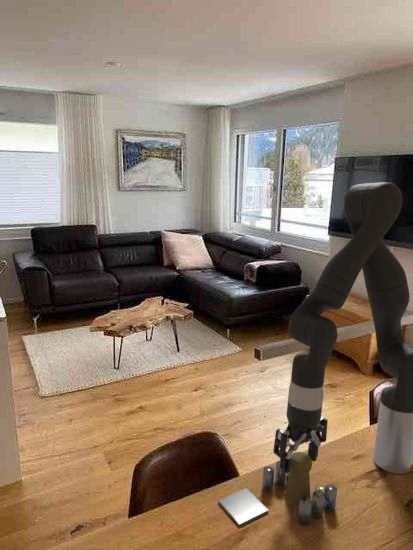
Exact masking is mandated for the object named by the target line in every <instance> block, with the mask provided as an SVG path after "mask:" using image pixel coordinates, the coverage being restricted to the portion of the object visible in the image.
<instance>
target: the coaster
mask: <svg viewBox="0 0 413 550" xmlns="http://www.w3.org/2000/svg"><path fill="white" fill-rule="evenodd" d="M218 504H219V505H220V507H222V509H223V510H224V511H225V512H226V514H227V515H228V516H229V517H230V518H231V519H232V521H234V523H236V525H237V526H238V527H242V526H244V525H246V524H247V523H249V522H253V521H254V520H256V519H258V518H260V517H261V516H264V515H266V514H268V513H269V509H268V508H267V507H266V506H265V505H264V504H263V503H262V502H261V501H260V500H259V498H258V497H256V496H255V495H254V494H253V493H252V492H251V491H250V490H249V489H248V488H247V487H245V488H243V489H241V490H239V491H236V492H234V493H232V494H230V495H227V496H225V497H224V498H223V497H222V498H221V499H218Z"/></svg>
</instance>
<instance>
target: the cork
mask: <svg viewBox="0 0 413 550" xmlns="http://www.w3.org/2000/svg"><path fill="white" fill-rule="evenodd" d="M290 458H291V461H290V467H291V470H290V474H289V478H287V483H286V487H285V492H284V495H283V496H284V499H285V501H286V502H287V503H288V504H290V505H291V506H293V507H296V508H299V501H300V499H301V498H303V497H306V498H309V499H310V500H311V501H312V497H311V481H310V479H311V478H310V472H311V470H312V468H313V461H312V460H311V458H310V456H309V455H308V453H306V452H302V451H294V452H293V453H292V455H291V457H290Z"/></svg>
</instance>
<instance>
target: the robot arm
mask: <svg viewBox="0 0 413 550" xmlns="http://www.w3.org/2000/svg"><path fill="white" fill-rule="evenodd" d="M343 203H344V213H345V217H346V220H347V224H348V226H349V229H350V232H351V235H352V238H351V239H350V240H349V241H348V242H347V243H346V244H345V245H344V246H342V248H341V249H340V250H338V251H337V253H335V254H334V255H333V256H332V257H331V258H330V260H329V261H328V262H327V263H326V265H325V267H324V268H323V270H322V272H321V274H320V276H319V278H318V280H317V282H316V284H315V286H314V288H313V290H312V291H311V293H309V294H308V296H307V297H305V299H304V300H303V301H302V303H301V304H300V305H298V307H297V308H296V310H294V311H293V313H292V315H291V316H290V319H289V321H288V332H289V336H290V337H291V339H293V340H294V341H296V342H298V343H300V344H303V345H306V346H307V347H309V350H308V351H309V352H300V353H299V352H298V353H297V354H296V355H295V356H294V357H293V359H292V365H291V373H290V374H291V375H290V383H289V387H288V396H287V407H286V418H287V426H286V429H285V428H284V429H281V428H277V429H276V431H275V436H274V443H273V450H272V451H273V452H272V453H273V454H274V455H276V456H277V457H278V458H279V461H280V468H281V469H282V470H283V471H284V472H285V473H286V474H287V473H288V472H289V471H290V461H291V458H290V457H291V455H292V454H293V453H294V452H297V451H298V450H299V447H300V446H301V445H303V444H304V443H308V448H307V449H308V450H307V455H309V456H310V458H311V460H312V462H317V459H318V455H319V449H320V446H321V444H322V443H326V441H327V437H328V436H327V434H328V423H329V421H328V419H327V418H326V417H324V416H323V415H322V414H323V413H322V411H323V402H324V391H325V390H324V382H325V374H326V367H327V364H328V362H329V359H330V358H331V354H332V352H333V350H334V348H335V346H336V342H337V340H338V328H337V326H336V324H335V322H334V320H332V319H331V318H328V317H326V316H323V315H322V314H324V313H325V311H328V310H329V311H331V310H334V311H335V310H336V311H337V310H340V309H341V308H342V307H343V306H344V305H345V303H346V301H347V299H348V296H349V295H350V292H351V290H352V288H353V286H354V284H355V282H356V280H357V278H358V276H359V274H360V273H361V271H362V273H363V279H364V284H365V285H364V286H365V289H366V295H367V299H368V301H369V306H370V310H371V315H372V316H371V317H372V320H373V325H374V329H375V330H374V331H375V332H374V333H375V338H376V339H375V340H376V350H377V351H376V352H377V358H378V362H379V365H380V368H382V370H383V371H384V372H385V373H386V374H388V375H390V376H391V377H393V378H394V379H397V381H396V383H395V384H396V386H388V387H387V386H386V387H384V388H383V389H382V390H381V392H380V393H381V394H380V400H379V408H378V417H377V425H376V433H375V434H376V435H375V439H374V440H375V442H374V448H373V456H372V459H373V462H374V464H375V465H376V466H378V467H379V468H380V469H381V470H383V471H385V472H388V473H392V474H396V475H405V474H408V473H409V472H410V471H411V469H412V468H411V467H412V464H413V345H411V344H409V343H407V342H406V340H405V337H404V334H403V330H402V318H403V316H404V314H405V312H406V311H407V308H408V305H409V303H410V290H409V286H408V279H407V275H406V272H405V269H404V267H403V266H402V264H401V262H400V261H399V260H398V258H397V257H396V256H395V255H394V253H393V252H392V251H391V250H390V249H389V247H388V246H387V245H386V243H385V241H384V240H383V238H384V237H385V236H386V235H387V233H388V232H389V230H390V229H391V227H392V226H393V224H394V223H395V222H396V220H397V218H398V217H399V215H400V213H401V210H402V206H403V194H402V191H401V189H400V187H399V186H398V185H396V184H394V183H392V182H389V181H388V182H386V181H383V182H382V181H381V182H367V183H366V182H365V183H359V184H354V185H352V186H350V188H348V190H347V191H346V193H345V196H344V202H343ZM290 441H292V443H293V444H292V443H290ZM287 449H288V451H286V450H287Z"/></svg>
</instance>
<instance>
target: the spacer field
mask: <svg viewBox="0 0 413 550" xmlns="http://www.w3.org/2000/svg"><path fill="white" fill-rule="evenodd" d="M262 469H263V472H262V485H261V486H262V490H263V491H265V492H269V493H270V492H272V491H274V484H276V485H277V486H280V487H283V486H285V485H286V484H287V483H286V481H287V479H288V478H289V474H290V471H289V472H288V473H285V472H284V471H283V470H282V469H281V468H280V460H277V461H276V463H275V468H274V467H273V466H270V465H267V466H264V467H263V468H262ZM290 470H291V467H290ZM286 478H287V479H286ZM325 485H326V486H325V495H324V493H322V492H321V491H315V490H313V492H312V497H311V500H310V499H309V498H306V497H303V498H301V499H300V501H299V507H298V513H297V522H298V524H299V525H300V526H302V527H308V526H310V524H311V517H312V518H314V519H316V520H321V519H323V517H324V511H326V512H329V513H333V512H335V510H336V504H337V495H338V488H337V487H336V486H335V485H333V484H331V483H330V484H325Z"/></svg>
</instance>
